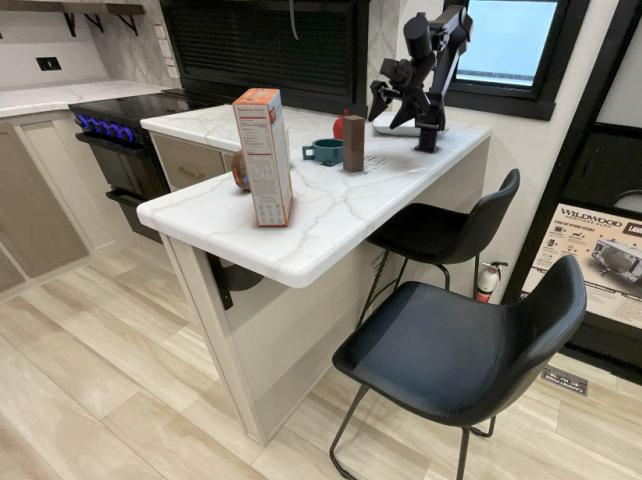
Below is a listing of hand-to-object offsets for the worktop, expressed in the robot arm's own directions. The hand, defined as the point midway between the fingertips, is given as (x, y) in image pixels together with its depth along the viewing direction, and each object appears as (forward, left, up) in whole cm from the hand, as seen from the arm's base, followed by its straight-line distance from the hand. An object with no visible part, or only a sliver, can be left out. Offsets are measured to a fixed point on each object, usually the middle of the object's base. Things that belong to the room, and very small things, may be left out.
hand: (379, 124), depth 86 cm
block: (+7, -4, -11) cm, 13 cm away
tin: (+27, -20, -11) cm, 35 cm away
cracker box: (+37, -6, -11) cm, 39 cm away
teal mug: (+3, -15, -11) cm, 19 cm away
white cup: (+15, -23, -11) cm, 29 cm away
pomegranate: (-19, -20, -11) cm, 30 cm away
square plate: (-47, -9, -11) cm, 49 cm away
